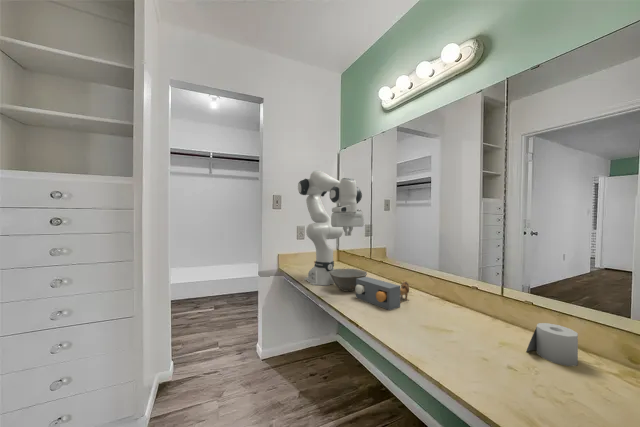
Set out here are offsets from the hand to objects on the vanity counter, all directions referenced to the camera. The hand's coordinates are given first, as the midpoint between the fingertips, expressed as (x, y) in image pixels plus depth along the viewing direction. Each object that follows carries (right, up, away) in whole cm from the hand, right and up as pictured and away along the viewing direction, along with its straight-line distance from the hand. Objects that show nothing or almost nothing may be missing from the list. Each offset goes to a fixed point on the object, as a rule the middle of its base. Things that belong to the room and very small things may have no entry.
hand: (348, 235), depth 130 cm
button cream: (+7, -30, 0) cm, 31 cm away
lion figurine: (+27, -34, -1) cm, 43 cm away
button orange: (+15, -30, -11) cm, 36 cm away
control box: (+14, -33, -3) cm, 36 cm away
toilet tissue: (+57, -33, -52) cm, 84 cm away
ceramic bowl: (+2, -34, +19) cm, 38 cm away
